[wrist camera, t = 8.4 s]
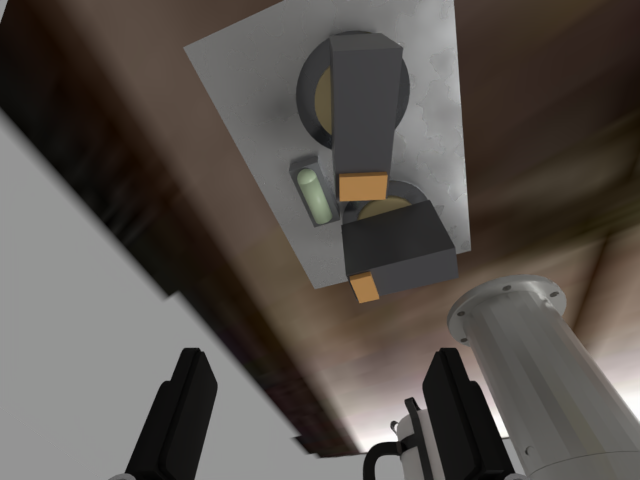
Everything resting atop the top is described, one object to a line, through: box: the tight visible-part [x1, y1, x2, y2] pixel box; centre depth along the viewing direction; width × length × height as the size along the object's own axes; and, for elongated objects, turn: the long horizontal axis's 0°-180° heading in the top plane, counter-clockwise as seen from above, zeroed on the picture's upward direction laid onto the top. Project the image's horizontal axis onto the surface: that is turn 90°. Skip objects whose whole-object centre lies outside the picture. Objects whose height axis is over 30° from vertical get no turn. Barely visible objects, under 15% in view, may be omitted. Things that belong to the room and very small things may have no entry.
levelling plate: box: [183, 0, 471, 289], centre depth 24 cm, size 22×15×2 cm
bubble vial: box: [289, 156, 340, 228], centre depth 23 cm, size 5×2×2 cm, turn 20°
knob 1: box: [315, 33, 403, 201], centre depth 17 cm, size 5×7×7 cm
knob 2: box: [341, 195, 459, 303], centre depth 23 cm, size 5×7×7 cm
